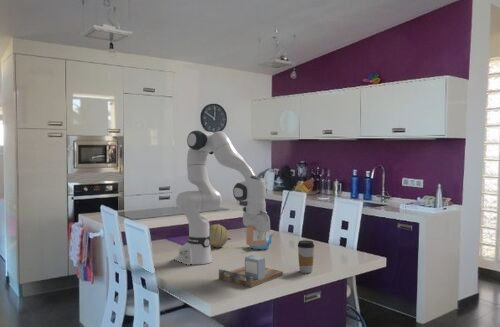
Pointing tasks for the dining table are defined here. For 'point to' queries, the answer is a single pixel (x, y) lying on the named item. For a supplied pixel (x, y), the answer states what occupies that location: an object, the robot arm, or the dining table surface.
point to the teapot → (263, 245)
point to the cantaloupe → (217, 235)
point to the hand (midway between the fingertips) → (256, 238)
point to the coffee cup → (305, 256)
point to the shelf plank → (242, 279)
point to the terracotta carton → (254, 237)
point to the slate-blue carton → (255, 267)
